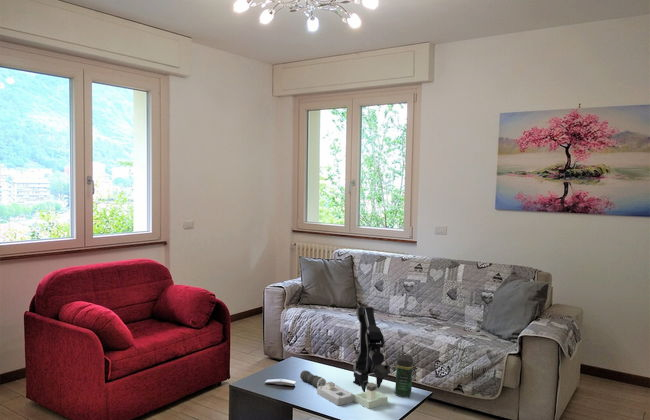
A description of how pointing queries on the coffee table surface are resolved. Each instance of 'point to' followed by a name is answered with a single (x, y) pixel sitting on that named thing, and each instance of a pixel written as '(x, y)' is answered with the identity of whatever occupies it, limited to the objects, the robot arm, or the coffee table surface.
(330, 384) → the block
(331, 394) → the fuse block
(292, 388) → the coffee table surface
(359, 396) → the parts tray
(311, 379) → the flashlight
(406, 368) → the coffee jar
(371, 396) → the block
